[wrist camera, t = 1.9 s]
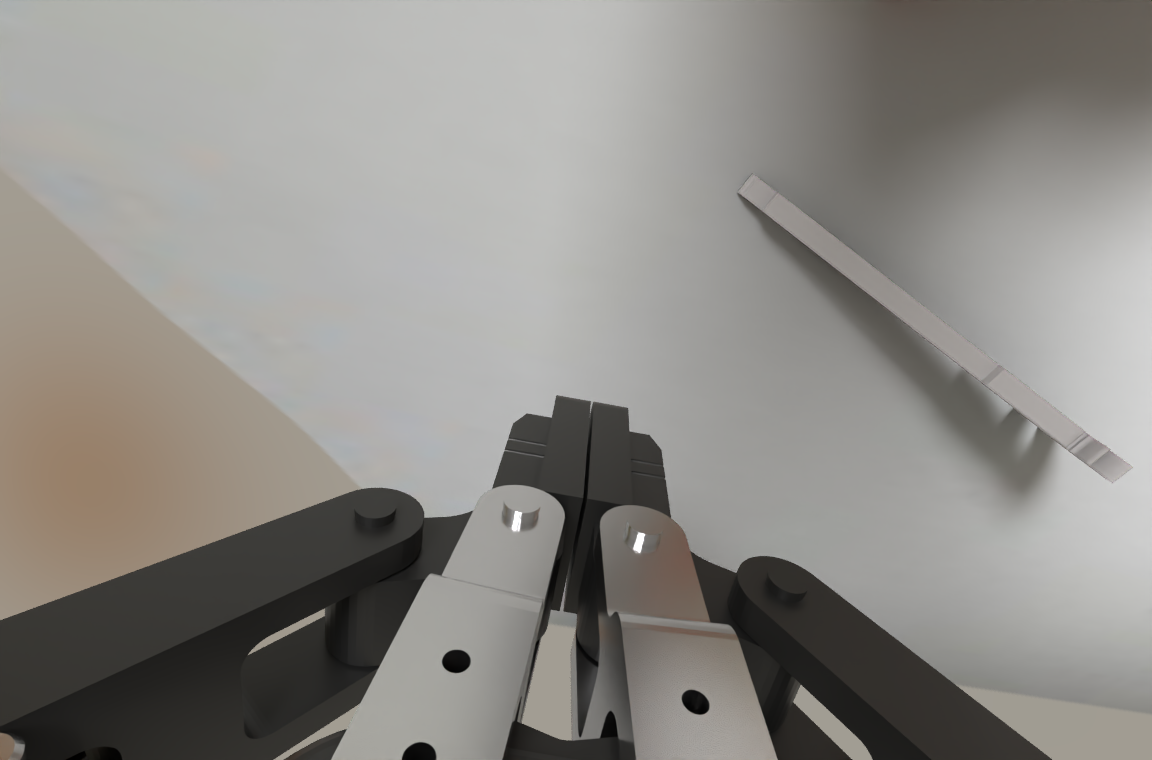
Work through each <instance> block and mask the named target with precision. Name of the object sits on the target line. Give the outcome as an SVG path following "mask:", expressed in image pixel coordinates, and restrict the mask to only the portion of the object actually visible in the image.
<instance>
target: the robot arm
mask: <svg viewBox="0 0 1152 760" xmlns="http://www.w3.org/2000/svg"><path fill="white" fill-rule="evenodd" d="M590 405H591V401H586V400H580V399H575V398H569V397H563V396H558V395H556V400H555V405H554V410H553V415H552V418H549V417H544V416H538V415H532V414H526V415H524V416H523V417H522V418H520V419H519V420H517V421H516V422H515V423H513V426H512V429H511V432H510V435H509V439H508V441H507V444H506V447H505V451H504V454H503V457H502V460H501V463H500V466H499V469H498V472H497V475H496V478H495V481H494V485H493V488H492V489H491V490H489V491H487V492H486V493H484V494H483V495H482V496H481V497H480V499H479V500H478V502H477V504H476V506H475V508H474V510H473V511H471V512H468V513H465V514H462V515H457V516H451V517H434V518H424V511H423V508H422V506H421V505H420V503H419V502H418V501H417V500H416V499H414V498H413V497H412V496H410V495H408V494H406V493H404V492H401V491H398V490H393V489H388V488H366V489H361V490H356V491H353V492H349V493H347V494H344V495H342V496H339V497H336V498H333V499H330V500H328V501H325V502H322V503H319V504H317V505H314V506H311V507H309V508H306V509H303V510H301V511H298V512H295V513H292V514H290V515H287V516H284V517H281V518H279V519H276V520H273V521H270V522H268V523H265V524H262V525H259V526H257V527H254V528H251V529H248V530H246V531H243V532H240V533H238V534H235V535H232V536H230V537H227V538H224V539H221V540H219V541H216V542H213V543H210V544H208V545H205V546H202V547H200V548H197V549H194V550H191V551H189V552H186V553H183V554H180V555H178V556H175V557H172V558H169V559H167V560H164V561H162V562H159V563H156V564H153V565H151V566H148V567H145V568H142V569H139V570H137V571H134V572H131V573H128V574H126V575H124V576H120V577H118V578H115V579H112V580H109V581H107V582H104V583H101V584H98V585H96V586H93V587H90V588H88V589H85V590H82V591H80V592H77V593H74V594H71V595H68V596H66V597H63V598H60V599H57V600H55V601H52V602H49V603H47V604H44V605H41V606H38V607H36V608H33V609H30V610H28V611H25V612H22V613H19V614H17V615H14V616H11V617H8V618H6V619H3V620H0V760H273V759H275V758H276V757H278V756H280V755H281V754H283V753H284V752H286V751H287V750H289V749H290V748H292V747H293V746H295V745H296V744H298V743H300V742H301V741H303V740H304V739H306V738H307V737H309V736H310V735H312V734H314V733H315V732H317V731H318V730H320V729H321V728H323V727H324V726H326V725H327V724H329V723H330V722H332V721H334V720H335V719H337V718H338V717H340V716H341V715H343V714H344V713H346V712H348V711H349V710H350V709H352V708H354V707H355V706H357V705H358V704H360V705H359V707H358V709H357V711H356V713H355V715H354V717H353V718H352V720H351V722H350V724H349V726H348V728H347V729H346V730H342V731H339V732H336V733H334V734H331V735H329V736H327V737H324V738H322V739H319V740H317V741H315V742H313V743H311V744H310V745H308V746H306V747H304V748H302V749H301V750H299V751H297V752H295V753H294V754H292V755H290V756H289V757H288V758H286V759H284V760H852V759H851V758H850V757H849V756H848V755H847V754H846V753H845V752H843V750H842V749H840V748H839V747H838V746H837V745H836V744H835V743H834V742H833V741H832V740H831V739H830V738H829V737H828V736H827V735H826V734H825V733H824V732H823V731H822V730H821V729H820V728H819V727H818V726H817V725H816V724H815V723H814V722H813V721H812V720H811V719H810V718H809V717H808V716H807V715H805V713H804V712H803V711H801V710H800V709H799V708H798V707H797V706H796V705H795V704H794V703H793V701H794V698H795V696H796V694H797V692H798V689H799V687H800V685H802V686H803V687H804V688H805V689H807V690H808V691H809V692H810V693H811V694H812V695H813V696H814V697H815V698H816V699H817V700H818V701H819V702H820V703H822V704H823V705H824V706H825V707H826V708H827V709H828V710H829V711H830V712H831V713H832V714H833V715H834V716H835V717H836V718H837V719H839V720H840V721H841V722H842V723H843V724H844V725H845V726H846V727H847V728H848V729H849V730H850V731H851V732H852V733H853V734H855V735H856V736H857V737H858V738H859V739H860V740H861V741H862V743H863V744H864V745H865V746H866V748H867V749H868V751H869V753H870V755H871V756H872V759H873V760H1052V759H1051V758H1049V757H1048V756H1047V755H1046V754H1044V753H1043V752H1042V751H1040V750H1039V749H1038V748H1037V747H1035V746H1034V745H1033V744H1031V743H1030V742H1029V741H1027V740H1026V739H1025V738H1023V737H1022V736H1021V735H1020V734H1018V733H1017V732H1016V731H1014V730H1013V729H1012V728H1011V727H1009V726H1008V725H1007V724H1005V723H1004V722H1003V721H1002V720H1000V719H999V718H998V717H996V716H995V715H994V714H992V713H991V712H990V711H989V710H987V709H986V708H985V707H983V706H982V705H981V704H979V703H978V702H977V701H975V700H974V699H973V698H972V697H970V696H969V695H968V694H966V693H965V692H964V691H963V690H961V689H960V688H959V687H957V686H956V685H955V684H954V683H952V682H951V681H950V680H948V679H947V678H946V677H945V676H943V675H942V674H941V673H939V672H938V671H937V670H935V669H934V668H933V667H932V666H930V665H929V664H928V663H926V662H925V661H924V660H922V659H921V658H920V657H919V656H917V655H916V654H915V653H913V652H912V651H911V650H910V649H908V648H907V647H906V646H904V645H903V644H902V643H900V642H899V641H898V640H897V639H895V638H894V637H893V636H891V635H890V634H889V633H887V632H886V631H885V630H884V629H882V628H881V627H880V626H878V625H877V624H876V623H875V622H873V621H872V620H871V619H869V618H868V617H867V616H865V615H864V614H863V613H862V612H860V611H859V610H858V609H856V608H855V607H854V606H852V605H851V604H850V603H849V602H847V601H846V600H845V599H843V598H842V597H841V596H840V595H838V594H837V593H836V592H834V591H833V590H832V589H830V588H829V587H828V586H827V585H825V584H824V583H823V582H821V581H820V580H819V579H818V578H816V577H815V576H814V575H812V574H811V573H809V572H808V571H807V570H805V569H803V568H802V567H800V566H798V565H796V564H794V563H791V562H789V561H786V560H783V559H779V558H775V557H769V556H758V557H752V558H749V559H747V560H745V561H744V562H743V563H742V564H741V565H740V567H739V568H738V571H737V573H735V572H732V571H730V570H727V569H725V568H722V567H720V566H717V565H715V564H712V563H710V562H708V561H706V560H704V559H702V558H700V557H698V556H697V555H695V554H694V553H692V552H691V551H690V549H689V545H688V542H687V538H686V536H685V533H684V531H683V530H682V528H681V527H680V526H679V525H678V524H677V523H676V522H675V521H674V520H673V519H671V515H670V508H669V501H668V494H667V487H666V480H665V473H664V467H663V459H662V452H661V449H660V448H659V446H658V445H657V444H656V443H655V441H654V440H653V439H652V438H651V437H650V435H646V434H640V433H634V432H629V416H628V408H626V407H620V406H614V405H609V404H603V403H598V402H593V405H592V409H591V413H590ZM589 417H590V418H589ZM566 578H567V581H566ZM565 583H566V591H565V601H564V612H570V613H575V614H577V625H576V630H575V635H574V639H573V644H572V648H571V714H572V715H571V717H572V718H571V720H572V721H571V722H572V741H566V740H560V739H557V738H554V737H552V736H550V735H547V734H545V733H543V732H540V731H538V730H536V729H534V728H531V727H529V726H526V725H524V724H522V718H523V714H524V710H525V706H526V702H527V697H528V693H529V689H530V684H531V680H532V676H533V672H534V668H535V663H536V659H537V655H538V651H539V645H540V640H541V637H542V636H543V635H544V633H545V631H546V629H547V626H548V621H549V616H550V611H551V610H557V611H560V606H561V602H562V597H563V592H564V587H565ZM324 608H325V616H324V617H322V618H320V619H318V620H316V621H315V622H313V623H311V624H309V625H307V626H305V627H303V628H301V629H299V630H297V631H295V632H293V633H291V634H289V635H287V636H285V637H283V638H281V639H279V640H277V641H275V642H273V643H271V644H269V645H267V646H266V647H263V648H261V649H260V650H258V651H256V652H254V653H252V654H250V655H248V654H249V652H250V651H251V650H252V649H253V648H254V647H255V646H256V645H257V644H258V643H259V642H261V641H262V640H263V639H265V638H266V637H268V636H270V635H272V634H274V633H276V632H278V631H280V630H282V629H284V628H286V627H288V626H290V625H292V624H294V623H296V622H298V621H300V620H302V619H304V618H306V617H308V616H310V615H312V614H314V613H316V612H318V611H320V610H322V609H324ZM247 655H248V656H247Z"/></svg>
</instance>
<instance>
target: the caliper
mask: <svg viewBox="0 0 1152 760" xmlns="http://www.w3.org/2000/svg"><path fill="white" fill-rule="evenodd" d="M738 193H739V194H741V195H742V196H743V197H745V198H746V199H747V200H748V201H750V202H751V203H752V204H754V205H755V206H756V207H757V208H759V209H760V210H761V211H762V212H764V213H765V214H766V215H767V216H769V217H770V218H771V219H773V220H774V221H775V222H776V223H778V224H779V225H780V226H781V227H783V228H784V229H785V230H787V231H788V232H789V233H790V234H792V235H793V236H794V237H796V238H797V239H798V240H799V241H801V242H802V243H803V244H805V245H806V246H807V247H808V248H810V249H811V250H812V251H814V252H815V253H816V254H817V255H819V256H820V257H821V258H822V259H824V260H825V261H826V262H828V263H829V264H830V265H831V266H833V267H834V268H835V269H837V270H838V271H839V272H840V273H842V274H843V275H844V276H846V277H847V278H848V279H849V280H851V281H852V282H853V283H855V284H856V285H857V286H858V287H860V288H861V289H862V290H864V291H865V292H866V293H867V294H869V295H870V296H871V297H872V298H874V299H875V300H876V301H878V302H879V303H880V304H881V305H883V306H884V307H885V308H887V309H888V310H889V311H890V312H892V313H893V314H894V315H896V316H897V317H898V318H899V319H901V320H902V321H903V322H905V323H906V324H907V325H908V326H910V327H911V328H912V329H914V330H915V331H916V332H917V333H919V334H920V335H921V336H922V337H924V338H925V339H926V340H928V341H929V342H930V343H931V344H933V345H934V346H935V347H937V348H938V349H939V350H940V351H942V352H943V353H944V354H946V355H947V356H948V357H949V358H951V359H952V360H953V361H955V362H956V363H957V364H958V365H960V366H961V367H962V368H964V369H965V370H966V371H967V372H968V373H970V374H971V375H972V376H973V377H975V378H976V379H977V380H979V381H980V382H981V383H982V384H984V385H985V386H986V387H987V388H989V389H990V390H991V391H993V392H994V393H995V394H997V395H998V396H999V397H1000V398H1002V399H1003V400H1004V401H1006V402H1007V403H1008V404H1009V405H1011V406H1012V407H1013V409H1015V410H1016V411H1017V412H1019V413H1020V414H1021V415H1023V416H1024V417H1025V418H1027V419H1028V420H1029V421H1031V422H1032V423H1033V424H1035V425H1036V426H1037V427H1038V428H1039V429H1040V430H1042V431H1043V432H1044V433H1045V434H1047V435H1048V436H1049V437H1051V438H1052V439H1053V440H1055V441H1056V442H1057V443H1059V444H1060V445H1061V446H1063V447H1064V448H1065V449H1067V450H1068V451H1069V452H1071V453H1072V454H1073V455H1075V456H1076V457H1077V458H1079V459H1080V460H1081V461H1083V462H1084V463H1085V464H1087V465H1088V466H1089V467H1091V468H1092V469H1093V470H1095V471H1096V472H1097V473H1099V474H1100V475H1101V476H1103V477H1104V478H1105V479H1107V480H1109V481H1110V482H1111V483H1114V482H1115V481H1116V480H1118V479H1119V478H1120V477H1121V476H1123V475H1124V474H1125V473H1127V472H1128V471H1129V470H1131V469H1132V468H1133V467H1132V466H1131V465H1130V464H1128V463H1127V462H1125V461H1124V460H1123V459H1121V458H1120V457H1118V456H1117V455H1116V454H1114V453H1113V452H1111V451H1110V449H1109V448H1108V447H1106V446H1105V445H1103V444H1102V443H1100V442H1099V441H1097V440H1096V439H1094V438H1093V437H1091V436H1090V435H1088V434H1087V433H1086V432H1085V431H1084V430H1083V429H1081V428H1080V427H1079V426H1078V425H1076V424H1075V423H1074V422H1073V421H1071V420H1070V419H1069V418H1067V417H1066V416H1065V415H1064V414H1062V413H1061V412H1060V411H1058V410H1057V409H1056V408H1055V407H1053V406H1052V405H1051V404H1049V403H1048V402H1047V401H1046V400H1044V399H1043V398H1042V397H1040V396H1039V395H1038V394H1037V393H1035V392H1034V391H1033V390H1031V389H1030V388H1029V387H1028V386H1026V385H1025V384H1024V383H1023V382H1021V381H1020V380H1019V379H1017V378H1016V377H1015V376H1014V375H1012V374H1011V373H1010V372H1008V371H1007V370H1006V369H1005V368H1003V367H1002V366H1000V365H999V364H997V363H996V362H995V361H993V360H992V359H991V358H990V357H988V356H987V355H986V354H985V353H983V352H982V351H981V350H979V349H978V348H977V347H976V346H974V345H973V344H972V343H970V342H969V341H968V340H967V339H965V338H964V337H963V336H961V335H960V334H959V333H958V332H956V331H955V330H954V329H953V328H951V327H950V326H949V325H947V324H946V323H945V322H944V321H942V320H941V319H940V318H938V317H937V316H936V315H935V314H933V313H932V312H931V311H929V310H928V309H927V308H926V307H924V306H923V305H922V304H921V303H919V302H918V301H917V300H915V299H914V298H913V297H912V296H910V295H909V294H908V293H906V292H905V291H904V290H903V289H901V288H900V287H899V286H897V285H896V284H895V283H894V282H892V281H891V280H890V279H889V278H887V277H886V276H885V275H883V274H882V273H881V272H880V271H878V270H877V269H876V268H874V267H873V266H872V265H871V264H869V263H868V262H867V261H865V260H864V259H863V258H862V257H860V256H859V255H858V254H857V253H855V252H854V251H853V250H851V249H850V248H849V247H848V246H846V245H845V244H844V243H842V242H841V241H840V240H839V239H837V238H836V237H835V236H833V235H832V234H831V233H830V232H828V231H827V230H826V229H824V228H823V227H822V226H821V225H819V224H818V223H817V222H816V221H814V220H813V219H812V218H810V217H809V216H808V215H807V214H805V213H804V212H803V211H801V210H800V209H799V208H798V207H796V206H795V205H794V204H792V203H791V202H790V201H789V200H787V199H786V198H785V197H784V196H782V195H781V194H780V193H778V192H776V191H775V190H774V189H772V188H771V187H770V186H768V185H767V184H766V183H765V182H763V181H762V180H761V179H759V178H758V177H757V176H755V175H754V174H753V173H752V175H751V176H750V177H749V178H748V180H747V181H746V182H745V183H744V185H743V186H742V187H741V188H740V190H739V191H738Z"/></svg>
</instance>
